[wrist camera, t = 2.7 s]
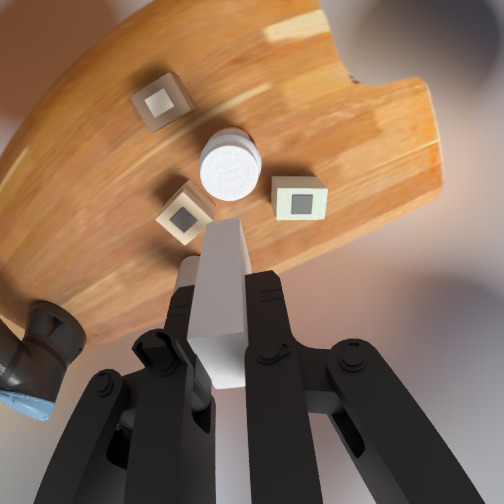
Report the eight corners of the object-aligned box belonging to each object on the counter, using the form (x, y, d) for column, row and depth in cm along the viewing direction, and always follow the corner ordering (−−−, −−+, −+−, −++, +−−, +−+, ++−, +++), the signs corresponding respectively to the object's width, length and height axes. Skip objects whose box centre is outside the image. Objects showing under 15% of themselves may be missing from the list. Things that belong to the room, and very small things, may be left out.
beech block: (190, 227, 38) (184, 246, 34) (164, 203, 36) (154, 220, 31) (215, 204, 36) (213, 221, 32) (189, 179, 34) (182, 192, 30)
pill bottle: (253, 174, 34) (261, 208, 25) (205, 172, 34) (193, 205, 24) (257, 127, 31) (268, 142, 22) (207, 125, 31) (194, 138, 21)
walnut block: (162, 128, 30) (150, 133, 26) (143, 96, 28) (129, 97, 23) (196, 108, 29) (190, 109, 25) (178, 75, 27) (168, 72, 23)
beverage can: (189, 248, 40) (175, 304, 30) (217, 262, 41) (213, 320, 31) (175, 270, 42) (161, 328, 32) (202, 283, 43) (195, 342, 33)
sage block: (271, 204, 37) (276, 220, 33) (271, 176, 35) (277, 189, 30) (313, 203, 37) (324, 220, 33) (316, 176, 35) (328, 189, 31)
